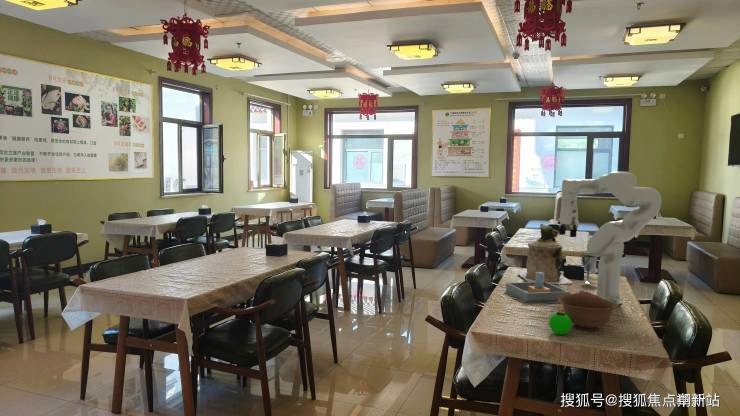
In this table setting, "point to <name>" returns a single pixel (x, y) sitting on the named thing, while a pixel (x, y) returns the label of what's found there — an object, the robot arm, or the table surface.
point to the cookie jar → (545, 258)
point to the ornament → (560, 323)
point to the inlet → (534, 290)
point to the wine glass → (588, 265)
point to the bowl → (587, 310)
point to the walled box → (522, 293)
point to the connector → (539, 280)
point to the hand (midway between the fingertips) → (567, 235)
